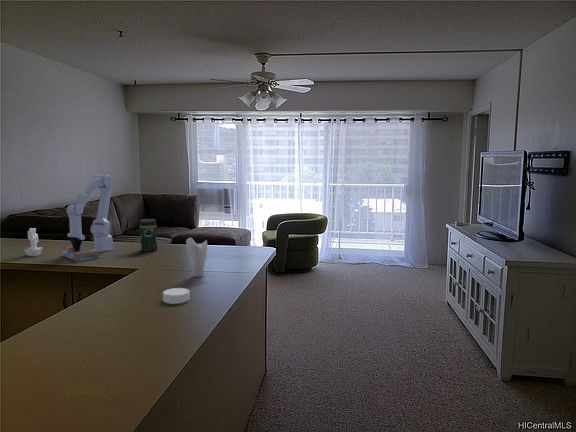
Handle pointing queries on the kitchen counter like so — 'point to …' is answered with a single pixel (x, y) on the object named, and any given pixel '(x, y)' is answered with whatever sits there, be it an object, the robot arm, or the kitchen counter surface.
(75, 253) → the striped blue tabbed panel
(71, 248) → the slab with raised block
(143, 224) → the coffee jar
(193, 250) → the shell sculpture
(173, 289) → the coaster
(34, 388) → the kitchen counter surface
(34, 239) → the figurine
